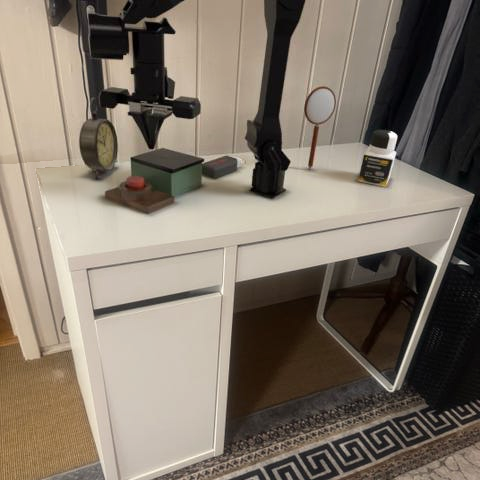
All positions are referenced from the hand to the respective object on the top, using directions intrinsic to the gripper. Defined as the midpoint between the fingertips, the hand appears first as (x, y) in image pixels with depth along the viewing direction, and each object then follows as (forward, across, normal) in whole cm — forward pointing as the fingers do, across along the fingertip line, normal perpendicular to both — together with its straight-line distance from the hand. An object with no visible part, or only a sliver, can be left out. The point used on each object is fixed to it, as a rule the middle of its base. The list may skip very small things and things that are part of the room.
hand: (151, 148), depth 94 cm
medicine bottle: (+10, -47, -32) cm, 58 cm away
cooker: (+10, 0, -8) cm, 13 cm away
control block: (+10, +2, +3) cm, 11 cm away
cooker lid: (+4, -1, -8) cm, 9 cm away
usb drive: (+10, -9, -22) cm, 26 cm away
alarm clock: (+10, +16, -9) cm, 21 cm away
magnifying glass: (+10, -31, -34) cm, 47 cm away
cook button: (+7, +2, +4) cm, 8 cm away
